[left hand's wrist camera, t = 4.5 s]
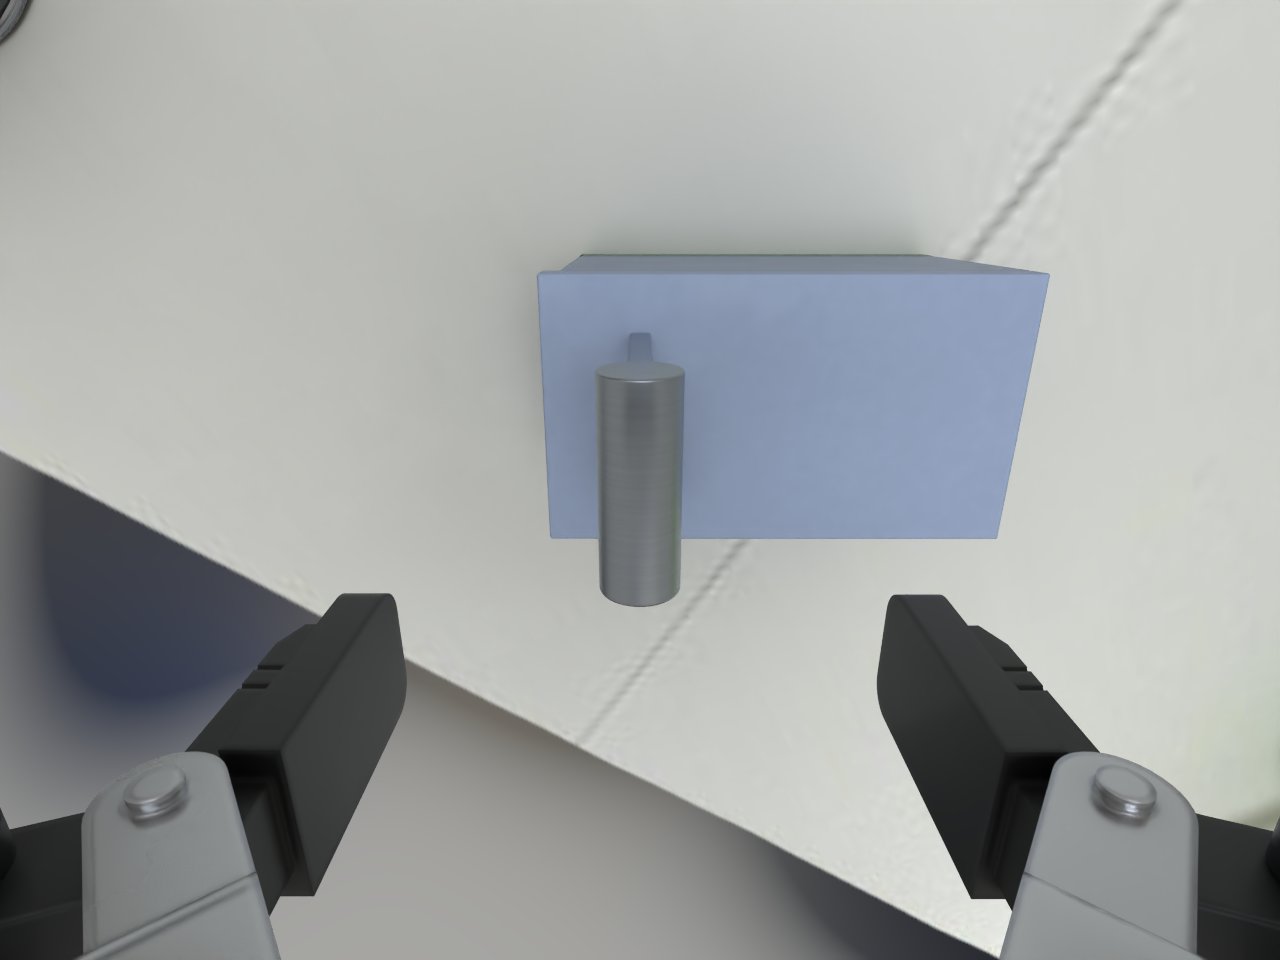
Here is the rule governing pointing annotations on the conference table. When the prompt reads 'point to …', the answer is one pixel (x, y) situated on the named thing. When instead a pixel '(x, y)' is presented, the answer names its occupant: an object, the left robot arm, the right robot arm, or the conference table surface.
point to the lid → (778, 408)
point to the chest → (775, 263)
